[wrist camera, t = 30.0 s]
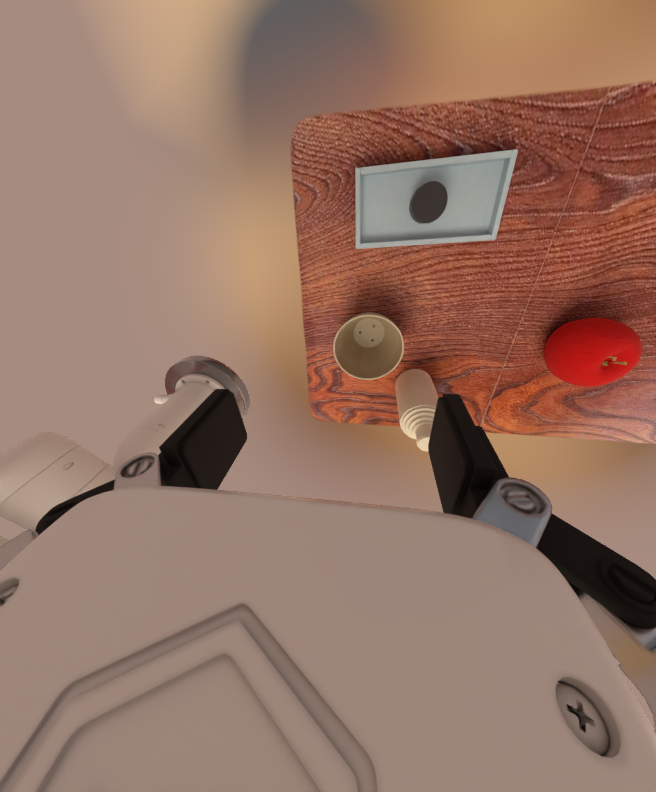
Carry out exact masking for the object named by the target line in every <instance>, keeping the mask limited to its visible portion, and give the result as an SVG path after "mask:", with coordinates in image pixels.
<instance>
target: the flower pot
mask: <svg viewBox="0 0 656 792" xmlns="http://www.w3.org/2000/svg"><path fill="white" fill-rule="evenodd" d="M373 325H374V326H373ZM359 333H361V334H359ZM372 339H373V340H372ZM333 352H334V357H335V359H336V362H337V363H338V365H339V366H340V368H341V369H342V370H343V371H344V372H346V373H347V374H349V375H350V376H352V377H355V378H358V379H363V380H372V379H378V378H381V377H383V376H386V375H387V374H389V373H390V372H392V371H393V370H394V369H395V368H396V367H397V365H398V364H399V362H400V361H401V359H402V356H403V352H404V341H403V337H402V334H401V332H400V330H399V329H398V327H397V326H396V325H395V324H394V323H393V322H392V321H391V320H390V319H389V318H387V317H385V316H384V315H381V314H378V313H373V312H366V313H361V314H358V315H356V316H354V317H352V318H350V319H349V320H347V321H346V322H345V323H344V324H343V325H342V326H341V328H340V329H339V330H338V332H337V334H336V336H335V339H334V343H333Z"/></svg>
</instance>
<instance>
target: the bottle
mask: <svg viewBox="0 0 656 792" xmlns="http://www.w3.org/2000/svg"><path fill="white" fill-rule="evenodd" d="M395 390H396V397H397V405H398V413H399V420H400V427H401V429H402V430H403V432H404V433H405V434H406V435H407V436H409V437H410V438H413V439H416V440H417V446H418V448H420V449H421V450H423V451H429V450H428V444H429V439H430V434H431V429H432V424H433V419H434V415H435V410H436V405H437V400H438V395H437V393H436V390H435V387H434V385H433V382H432V379H431V377H430V375H429V374H428V373H427V372H425V371H423V370H421V369H409V370H406V371H404V372H403V373H401V374H400V375H399V376H398V378H397V379H396V382H395Z"/></svg>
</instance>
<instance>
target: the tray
mask: <svg viewBox="0 0 656 792" xmlns="http://www.w3.org/2000/svg"><path fill="white" fill-rule="evenodd" d="M517 153H518V149H514V150H506V151H497V152H489V153H480V154H471V155H463V156H454V157H446V158H437V159H429V160H420V161H412V162H403V163H394V164H386V165H377V166H369V167H361V168H355V203H356V249H363V248H378V247H394V246H409V245H424V244H439V243H455V242H470V241H485V240H496V236H497V232H498V228H499V224H500V220H501V216H502V212H503V208H504V204H505V200H506V196H507V192H508V188H509V185H510V181H511V177H512V173H513V169H514V165H515V161H516V157H517ZM430 181H437V182H440V183H441V184H443V185H444V187H445V188H446V190H447V194H448V201H447V205H446V208H445V210H444V212H443V214H442V215H441V216H440V217H439V218H438V219H437V220H435V221H433V222H431V223H424V224H418V223H417V222H416V221H414V220H413V219H412V217H411V215H410V211H409V205H410V201H411V200H410V199H411V198H412V196H413V194H414V193H415V192H416V190H417V189H418V188H420V187H421V186H422V185H424V184H425V183H427V182H430Z"/></svg>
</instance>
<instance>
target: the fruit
mask: <svg viewBox="0 0 656 792" xmlns="http://www.w3.org/2000/svg"><path fill="white" fill-rule="evenodd" d="M641 352H642V346H641V341H640V339H639V336H638V335H637V334H636V333H635V332H634V331H633V329H632V328H630V327H628V326H626V325H625V324H623V323H620V322H617V321H614V320H611V319H607V318H586V319H579V320H575V321H571V322H568V323H566V324H564V325H562V326H560V327H559V328H558V329H556V330H555V331H554V332H553V333H552V334H551V335H550V336H549V338H548V340H547V342H546V345H545V348H544V359H545V362H546V365H547V367H548V369H549V370H550V371H551V373H552V374H553V375H555V376H556V377H558V378H559V379H561V380H563V381H565V382H568V383H570V384H574V385H578V386H583V387H589V386H599V385H604V384H607V383H610V382H612V381H615V380H617V379H618V378H620V377H622V376H624V375H625V374H627V373H628V372H629V371H631V370H632V369H633V368H634V367H635V365H636V364H637V363H638V362H639V360H640V357H641Z"/></svg>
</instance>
